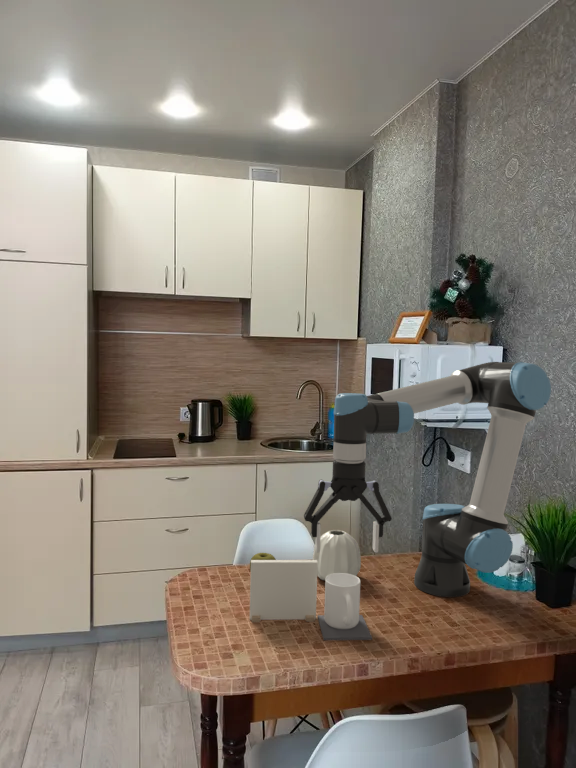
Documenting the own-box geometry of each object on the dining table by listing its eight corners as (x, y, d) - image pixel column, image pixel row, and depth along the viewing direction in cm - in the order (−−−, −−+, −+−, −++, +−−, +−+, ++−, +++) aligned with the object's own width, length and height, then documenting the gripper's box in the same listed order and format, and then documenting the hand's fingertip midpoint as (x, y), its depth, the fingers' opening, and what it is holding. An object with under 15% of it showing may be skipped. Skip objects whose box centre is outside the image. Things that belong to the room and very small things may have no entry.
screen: (314, 613, 140) (316, 558, 140) (316, 621, 136) (318, 564, 136) (249, 614, 139) (250, 558, 138) (249, 622, 135) (251, 564, 134)
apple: (260, 572, 166) (261, 548, 166) (282, 579, 162) (283, 554, 161) (243, 580, 160) (244, 555, 160) (266, 587, 155) (266, 562, 155)
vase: (302, 579, 162) (304, 533, 161) (327, 565, 173) (329, 522, 172) (345, 592, 154) (347, 543, 153) (368, 576, 165) (370, 531, 165)
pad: (362, 617, 139) (362, 614, 139) (371, 639, 128) (372, 637, 128) (317, 617, 138) (317, 615, 138) (323, 640, 127) (323, 637, 127)
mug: (367, 637, 128) (369, 592, 128) (331, 639, 127) (333, 593, 126) (353, 613, 140) (355, 572, 139) (320, 614, 139) (322, 573, 138)
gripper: (397, 457, 136) (394, 544, 137) (294, 456, 134) (291, 545, 135) (406, 463, 129) (403, 556, 130) (296, 462, 127) (294, 556, 128)
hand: (346, 550), depth 132 cm, fingers open, 13 cm apart
